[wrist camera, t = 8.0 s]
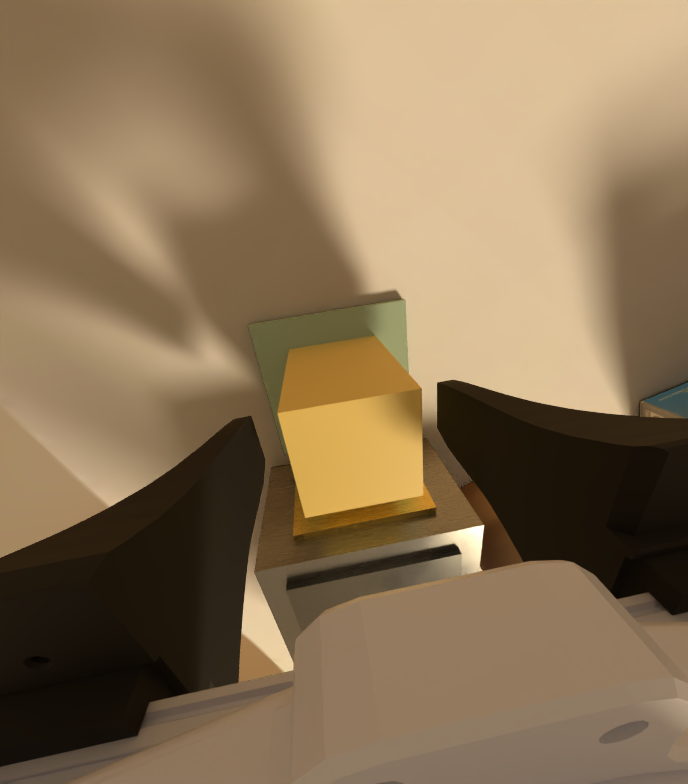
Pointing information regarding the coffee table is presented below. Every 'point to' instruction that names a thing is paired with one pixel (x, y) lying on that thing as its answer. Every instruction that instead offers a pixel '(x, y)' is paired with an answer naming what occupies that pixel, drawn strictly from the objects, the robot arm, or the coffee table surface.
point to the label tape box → (667, 404)
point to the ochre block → (351, 426)
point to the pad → (325, 339)
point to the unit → (361, 546)
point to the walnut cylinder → (491, 532)
